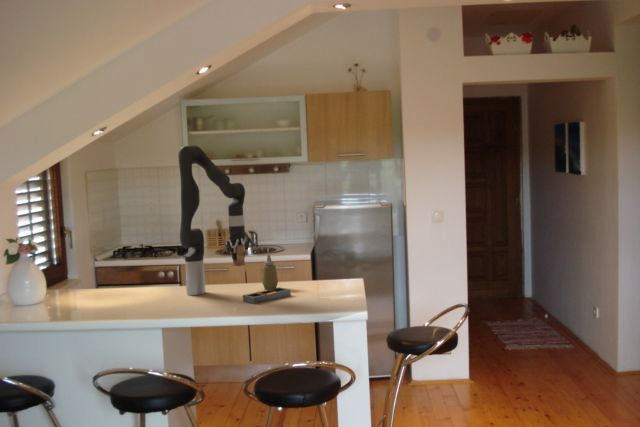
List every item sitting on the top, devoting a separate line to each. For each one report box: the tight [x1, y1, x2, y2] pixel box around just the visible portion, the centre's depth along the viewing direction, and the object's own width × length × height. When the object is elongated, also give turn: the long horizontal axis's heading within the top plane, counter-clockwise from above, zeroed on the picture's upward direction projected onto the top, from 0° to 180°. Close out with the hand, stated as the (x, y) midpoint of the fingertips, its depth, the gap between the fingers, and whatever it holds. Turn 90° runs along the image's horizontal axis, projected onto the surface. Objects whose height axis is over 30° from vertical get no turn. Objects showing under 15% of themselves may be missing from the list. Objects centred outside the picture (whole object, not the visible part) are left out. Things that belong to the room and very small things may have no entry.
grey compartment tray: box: [242, 287, 292, 305], centre depth 340 cm, size 9×22×3 cm, turn 131°
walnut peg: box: [232, 245, 246, 267], centre depth 341 cm, size 4×4×10 cm
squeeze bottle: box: [262, 253, 279, 290], centre depth 360 cm, size 8×8×18 cm
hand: (238, 259), depth 341 cm, fingers closed on walnut peg, 4 cm apart
